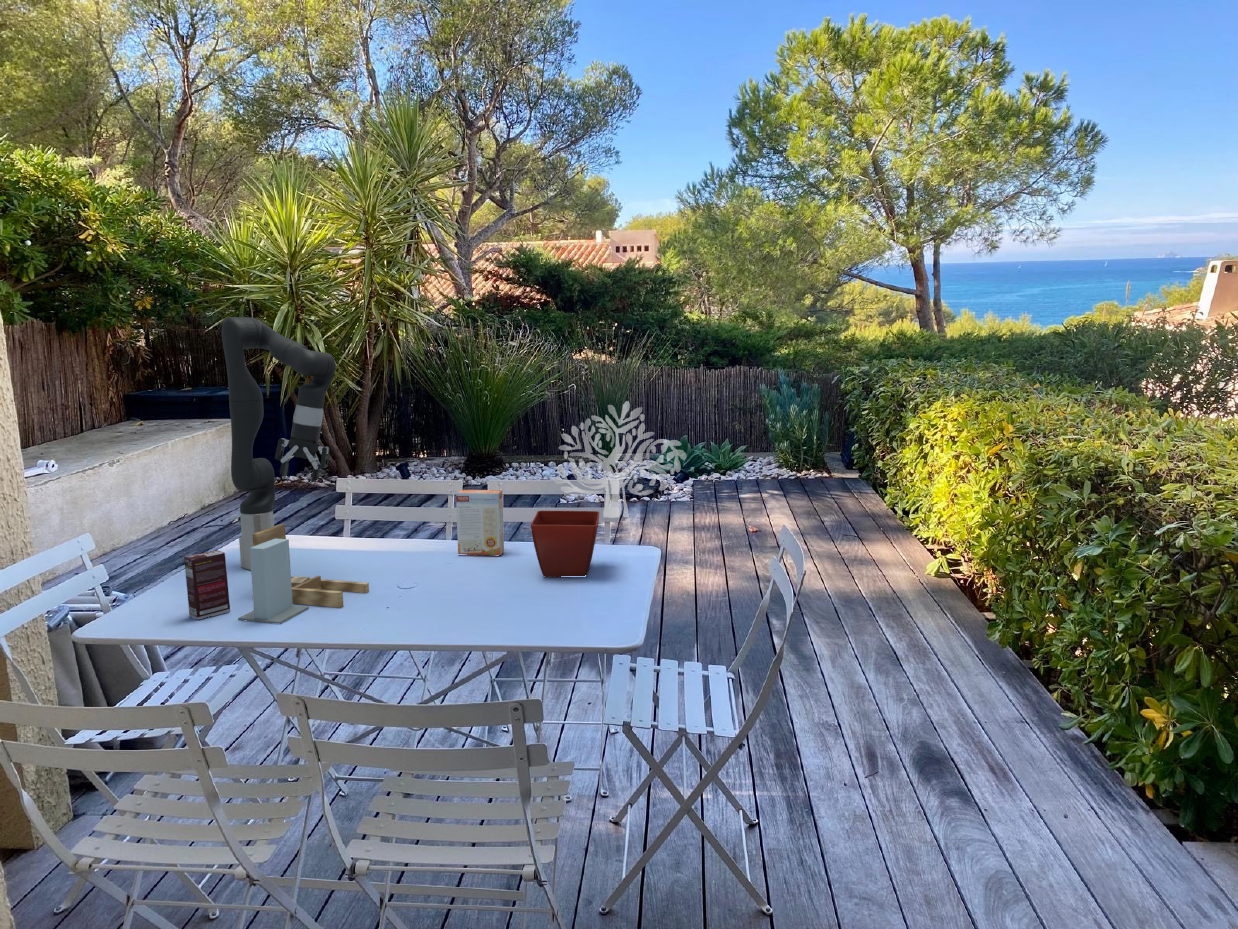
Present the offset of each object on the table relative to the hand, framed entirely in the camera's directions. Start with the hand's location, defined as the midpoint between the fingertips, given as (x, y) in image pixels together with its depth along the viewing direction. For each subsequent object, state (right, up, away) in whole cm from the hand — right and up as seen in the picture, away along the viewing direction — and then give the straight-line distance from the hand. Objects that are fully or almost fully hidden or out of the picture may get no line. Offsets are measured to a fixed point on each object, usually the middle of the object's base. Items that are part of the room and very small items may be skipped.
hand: (298, 478), depth 241 cm
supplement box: (-15, -35, -22) cm, 43 cm away
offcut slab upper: (+2, -30, -5) cm, 30 cm away
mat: (+2, -34, -22) cm, 41 cm away
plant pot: (+74, -29, +16) cm, 81 cm away
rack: (+7, -32, -7) cm, 33 cm away
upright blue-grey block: (+2, -34, -22) cm, 40 cm away
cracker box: (+45, -25, +36) cm, 64 cm away
